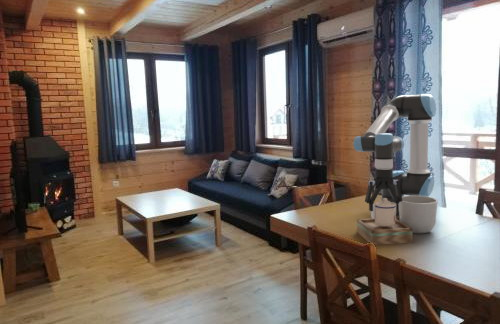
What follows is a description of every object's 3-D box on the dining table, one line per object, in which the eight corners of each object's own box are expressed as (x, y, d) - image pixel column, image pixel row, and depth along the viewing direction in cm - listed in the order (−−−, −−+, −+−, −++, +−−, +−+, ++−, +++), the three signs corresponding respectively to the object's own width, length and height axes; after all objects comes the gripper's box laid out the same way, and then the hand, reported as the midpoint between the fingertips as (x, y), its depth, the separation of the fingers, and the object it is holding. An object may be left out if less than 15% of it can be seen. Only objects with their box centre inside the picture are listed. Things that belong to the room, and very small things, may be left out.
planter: (442, 229, 179) (443, 198, 177) (429, 238, 167) (429, 205, 165) (406, 223, 190) (406, 194, 189) (391, 231, 179) (392, 200, 177)
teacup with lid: (399, 226, 165) (399, 200, 163) (378, 227, 164) (378, 201, 163) (387, 218, 177) (388, 194, 175) (368, 219, 176) (368, 195, 175)
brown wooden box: (393, 229, 181) (393, 217, 180) (412, 242, 163) (412, 228, 162) (356, 232, 180) (356, 219, 179) (371, 244, 162) (371, 230, 161)
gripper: (403, 166, 172) (402, 214, 175) (356, 168, 171) (357, 216, 173) (411, 168, 165) (410, 218, 167) (363, 170, 163) (362, 221, 166)
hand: (383, 217), depth 170 cm, fingers closed on teacup with lid, 9 cm apart
